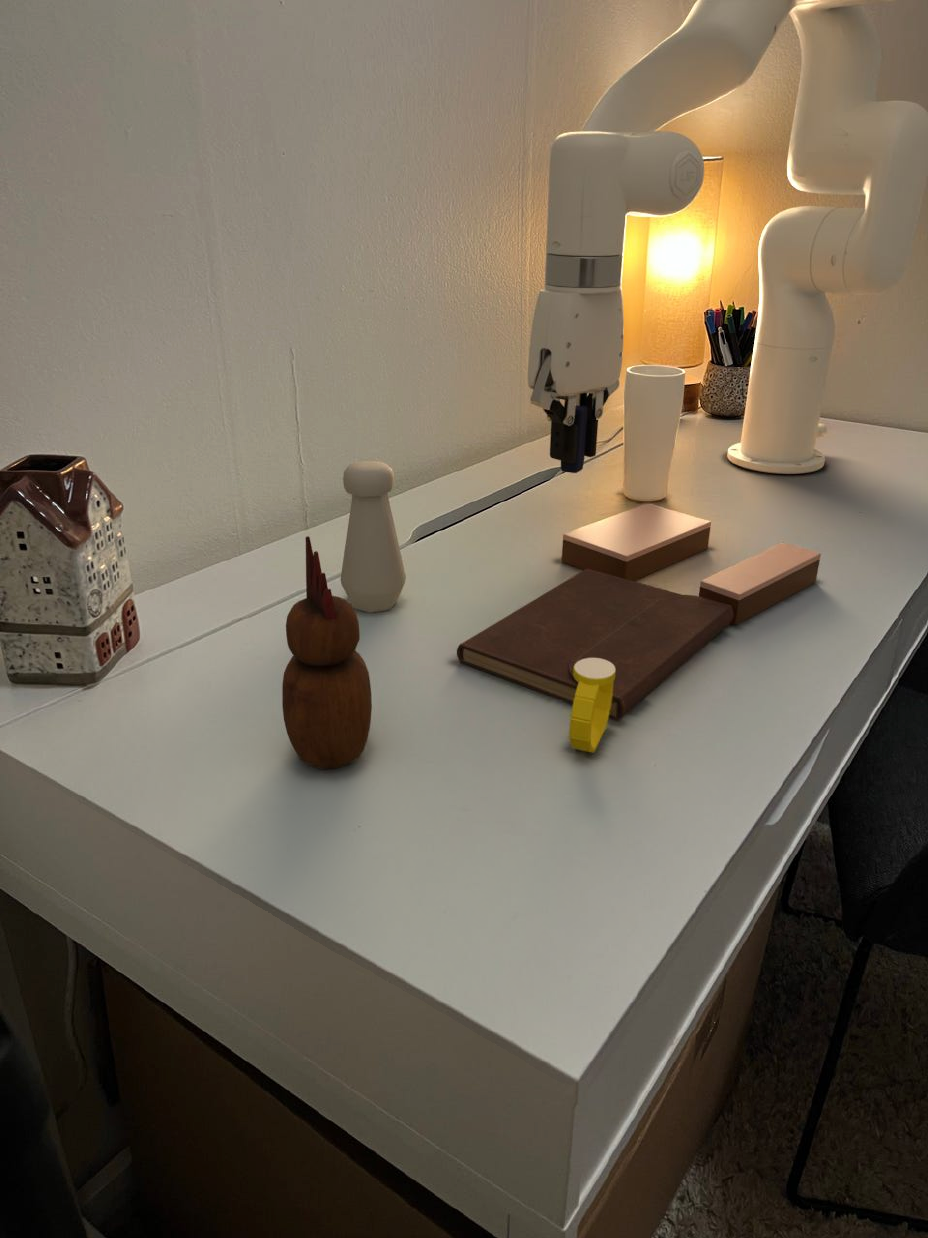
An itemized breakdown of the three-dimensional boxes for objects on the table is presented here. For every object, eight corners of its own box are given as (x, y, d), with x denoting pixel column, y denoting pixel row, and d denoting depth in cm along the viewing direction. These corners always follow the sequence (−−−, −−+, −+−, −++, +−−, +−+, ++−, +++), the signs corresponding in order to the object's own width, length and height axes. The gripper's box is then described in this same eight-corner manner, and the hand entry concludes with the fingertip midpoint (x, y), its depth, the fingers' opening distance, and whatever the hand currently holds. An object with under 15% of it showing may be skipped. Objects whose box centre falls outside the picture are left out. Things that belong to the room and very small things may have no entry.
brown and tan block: (645, 528, 102) (648, 502, 101) (707, 548, 97) (711, 521, 95) (561, 561, 93) (562, 533, 92) (624, 585, 88) (627, 556, 87)
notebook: (456, 660, 74) (456, 638, 74) (582, 582, 88) (584, 563, 88) (621, 722, 66) (624, 698, 65) (732, 625, 80) (735, 605, 79)
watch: (582, 716, 67) (587, 643, 64) (620, 724, 66) (626, 650, 63) (557, 759, 62) (561, 682, 59) (597, 769, 61) (603, 691, 58)
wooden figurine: (292, 727, 65) (274, 528, 59) (374, 724, 66) (365, 526, 59) (283, 784, 59) (262, 569, 53) (373, 780, 60) (363, 566, 53)
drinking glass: (669, 488, 115) (682, 365, 108) (675, 506, 109) (689, 376, 102) (614, 486, 115) (624, 363, 109) (617, 504, 109) (627, 375, 103)
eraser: (566, 465, 101) (570, 403, 98) (585, 469, 100) (589, 405, 97) (558, 470, 99) (561, 407, 96) (577, 474, 98) (580, 409, 95)
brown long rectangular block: (778, 570, 92) (783, 541, 90) (815, 582, 89) (821, 553, 88) (696, 611, 83) (700, 580, 82) (735, 625, 80) (740, 594, 79)
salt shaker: (415, 595, 86) (413, 458, 80) (391, 620, 81) (386, 477, 75) (358, 586, 88) (351, 452, 82) (331, 611, 83) (322, 470, 77)
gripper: (605, 266, 98) (594, 437, 106) (498, 276, 88) (494, 464, 96) (664, 271, 93) (647, 450, 101) (557, 282, 83) (547, 480, 91)
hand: (572, 455), depth 99 cm, fingers closed on eraser, 2 cm apart
